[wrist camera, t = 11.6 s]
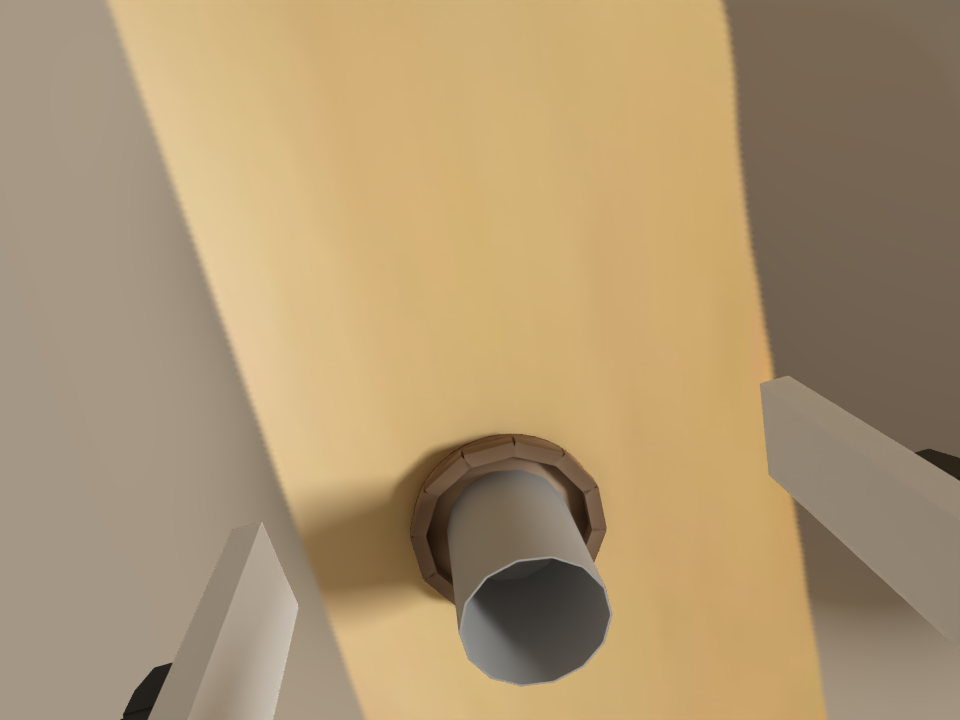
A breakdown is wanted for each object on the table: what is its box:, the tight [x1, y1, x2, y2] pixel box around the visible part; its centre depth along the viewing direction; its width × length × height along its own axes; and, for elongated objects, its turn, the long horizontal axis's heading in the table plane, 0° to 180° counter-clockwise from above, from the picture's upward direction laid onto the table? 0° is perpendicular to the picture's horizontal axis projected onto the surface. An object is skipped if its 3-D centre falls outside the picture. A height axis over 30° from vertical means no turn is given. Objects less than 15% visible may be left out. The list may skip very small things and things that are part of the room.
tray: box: [410, 434, 606, 606], centre depth 44 cm, size 13×13×2 cm
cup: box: [447, 469, 612, 687], centre depth 39 cm, size 8×8×10 cm
